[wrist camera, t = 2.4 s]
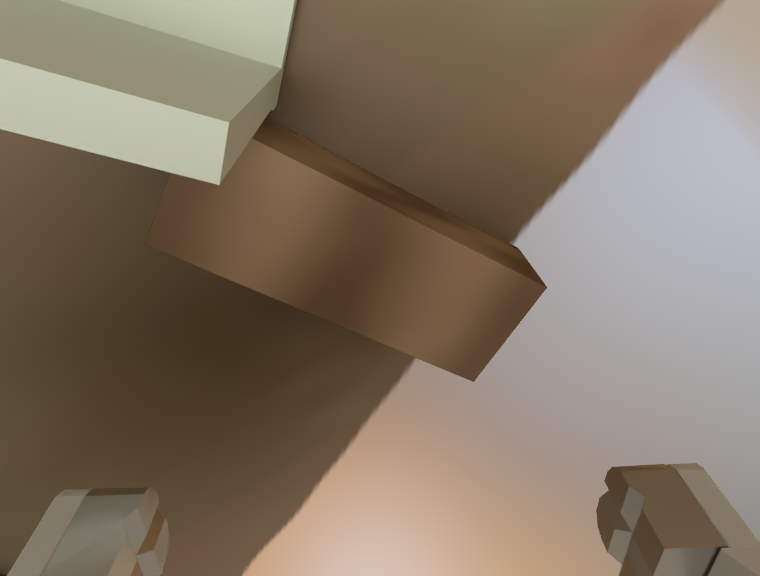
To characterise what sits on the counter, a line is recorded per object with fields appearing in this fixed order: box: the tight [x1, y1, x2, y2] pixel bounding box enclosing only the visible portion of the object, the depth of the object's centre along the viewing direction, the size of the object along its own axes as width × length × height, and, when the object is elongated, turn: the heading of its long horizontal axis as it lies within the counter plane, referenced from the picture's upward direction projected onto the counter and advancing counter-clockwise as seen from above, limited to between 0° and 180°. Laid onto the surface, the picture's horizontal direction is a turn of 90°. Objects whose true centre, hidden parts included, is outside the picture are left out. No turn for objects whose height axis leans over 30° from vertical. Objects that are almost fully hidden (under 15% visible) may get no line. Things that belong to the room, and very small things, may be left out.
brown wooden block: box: [144, 118, 547, 382], centre depth 20 cm, size 14×5×4 cm, turn 61°
